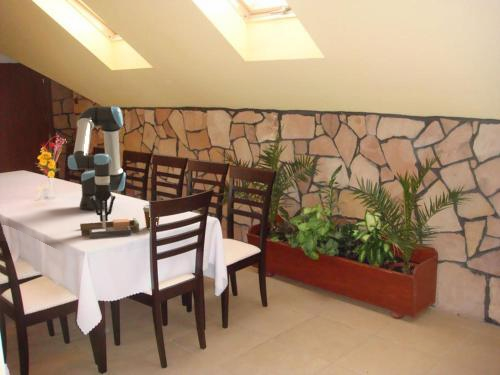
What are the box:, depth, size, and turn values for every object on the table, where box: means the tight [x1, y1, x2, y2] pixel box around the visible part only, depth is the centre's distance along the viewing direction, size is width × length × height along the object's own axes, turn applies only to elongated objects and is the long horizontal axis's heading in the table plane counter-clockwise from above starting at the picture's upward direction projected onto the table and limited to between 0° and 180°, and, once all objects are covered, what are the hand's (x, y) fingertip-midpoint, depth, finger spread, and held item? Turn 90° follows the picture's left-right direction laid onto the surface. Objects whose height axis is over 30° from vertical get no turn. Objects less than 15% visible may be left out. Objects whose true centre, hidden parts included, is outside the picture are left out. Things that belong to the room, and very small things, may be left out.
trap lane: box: [79, 217, 140, 239], centre depth 274 cm, size 19×29×4 cm, turn 110°
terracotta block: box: [112, 218, 130, 230], centre depth 279 cm, size 6×8×5 cm
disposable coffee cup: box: [142, 204, 160, 230], centre depth 282 cm, size 10×10×12 cm
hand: (104, 227), depth 276 cm, fingers closed
